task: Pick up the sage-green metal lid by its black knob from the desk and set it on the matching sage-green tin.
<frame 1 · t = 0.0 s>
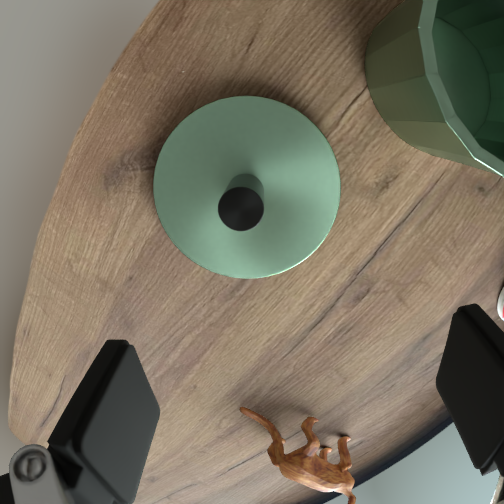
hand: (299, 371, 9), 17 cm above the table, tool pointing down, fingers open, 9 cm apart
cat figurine: (301, 427, 34), on the table
tin lid: (246, 190, 23), point 1 cm above the table
tin: (436, 79, 20), on the table
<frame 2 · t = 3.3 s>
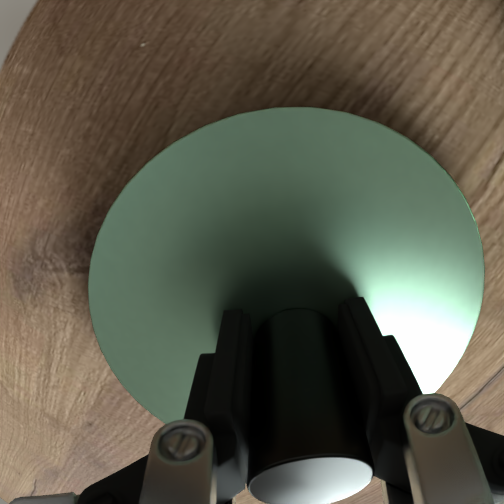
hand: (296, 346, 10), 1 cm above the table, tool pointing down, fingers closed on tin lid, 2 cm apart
tin lid: (294, 331, 10), point 1 cm above the table, touching gripper
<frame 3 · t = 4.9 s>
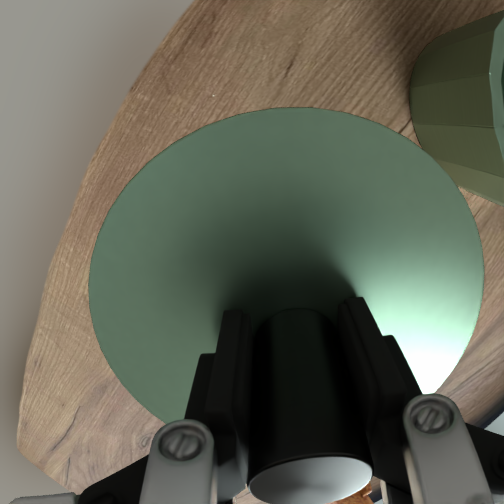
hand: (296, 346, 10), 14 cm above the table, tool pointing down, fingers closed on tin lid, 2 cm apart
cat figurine: (322, 455, 32), on the table
tin lid: (294, 331, 10), point 13 cm above the table, touching gripper
tin: (477, 111, 18), on the table
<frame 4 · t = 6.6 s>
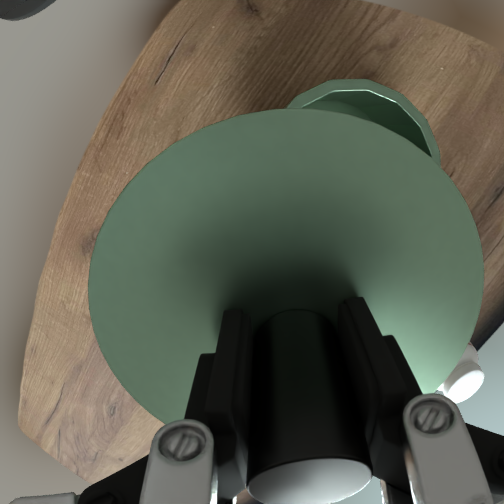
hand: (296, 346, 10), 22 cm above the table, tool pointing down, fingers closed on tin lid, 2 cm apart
pill bottle: (427, 327, 36), on the table
tin lid: (294, 332, 10), point 21 cm above the table, touching gripper
tin: (330, 159, 29), on the table
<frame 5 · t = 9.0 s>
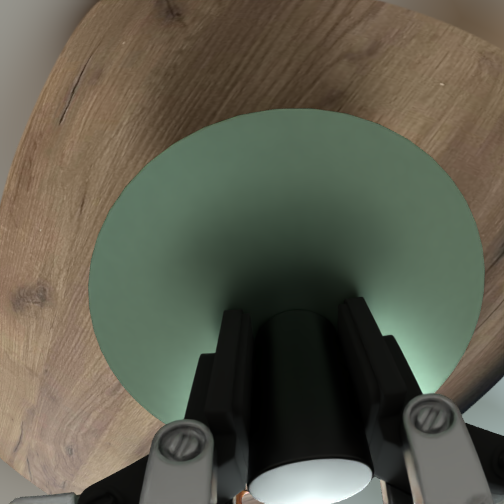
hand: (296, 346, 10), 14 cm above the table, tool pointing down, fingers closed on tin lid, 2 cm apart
tin lid: (294, 332, 10), point 13 cm above the table, touching gripper
when the fingers open (10 cm above the table, at t = 10.2 s): tin lid stays where it is, resting on tin.
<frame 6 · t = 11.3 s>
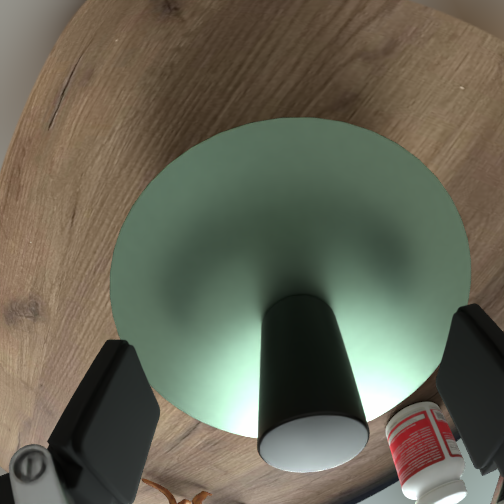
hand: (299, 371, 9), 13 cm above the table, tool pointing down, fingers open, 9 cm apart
pill bottle: (411, 417, 27), on the table
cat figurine: (203, 495, 35), on the table
tin lid: (297, 317, 11), point 9 cm above the table, touching tin
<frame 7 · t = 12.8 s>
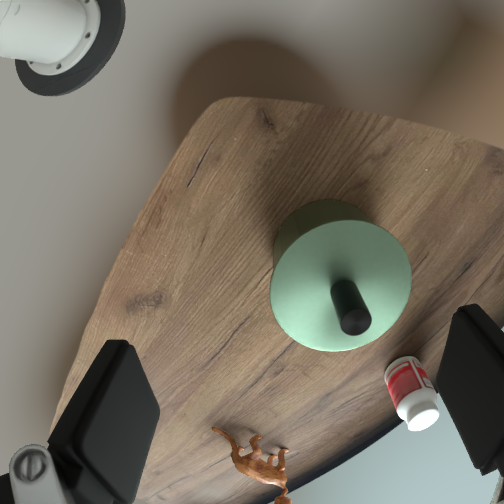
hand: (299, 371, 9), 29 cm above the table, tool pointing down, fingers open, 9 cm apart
pill bottle: (401, 368, 45), on the table
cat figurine: (254, 441, 52), on the table
tin lid: (342, 289, 29), point 9 cm above the table, touching tin
tin: (326, 251, 38), on the table
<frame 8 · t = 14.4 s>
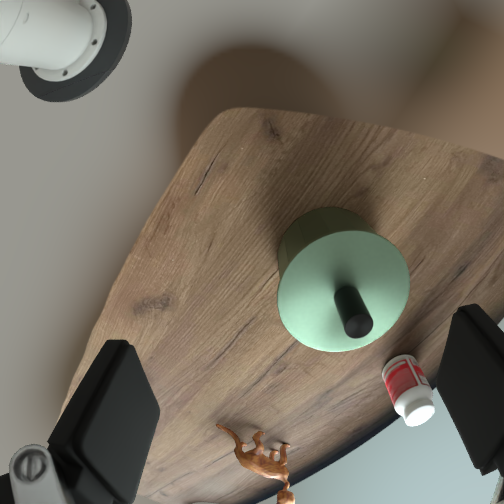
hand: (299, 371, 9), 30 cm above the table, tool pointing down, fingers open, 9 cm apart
pill bottle: (398, 366, 47), on the table
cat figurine: (256, 437, 54), on the table
tin lid: (345, 294, 31), point 9 cm above the table, touching tin
tin: (328, 256, 40), on the table
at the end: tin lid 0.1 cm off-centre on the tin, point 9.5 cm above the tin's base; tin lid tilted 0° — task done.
